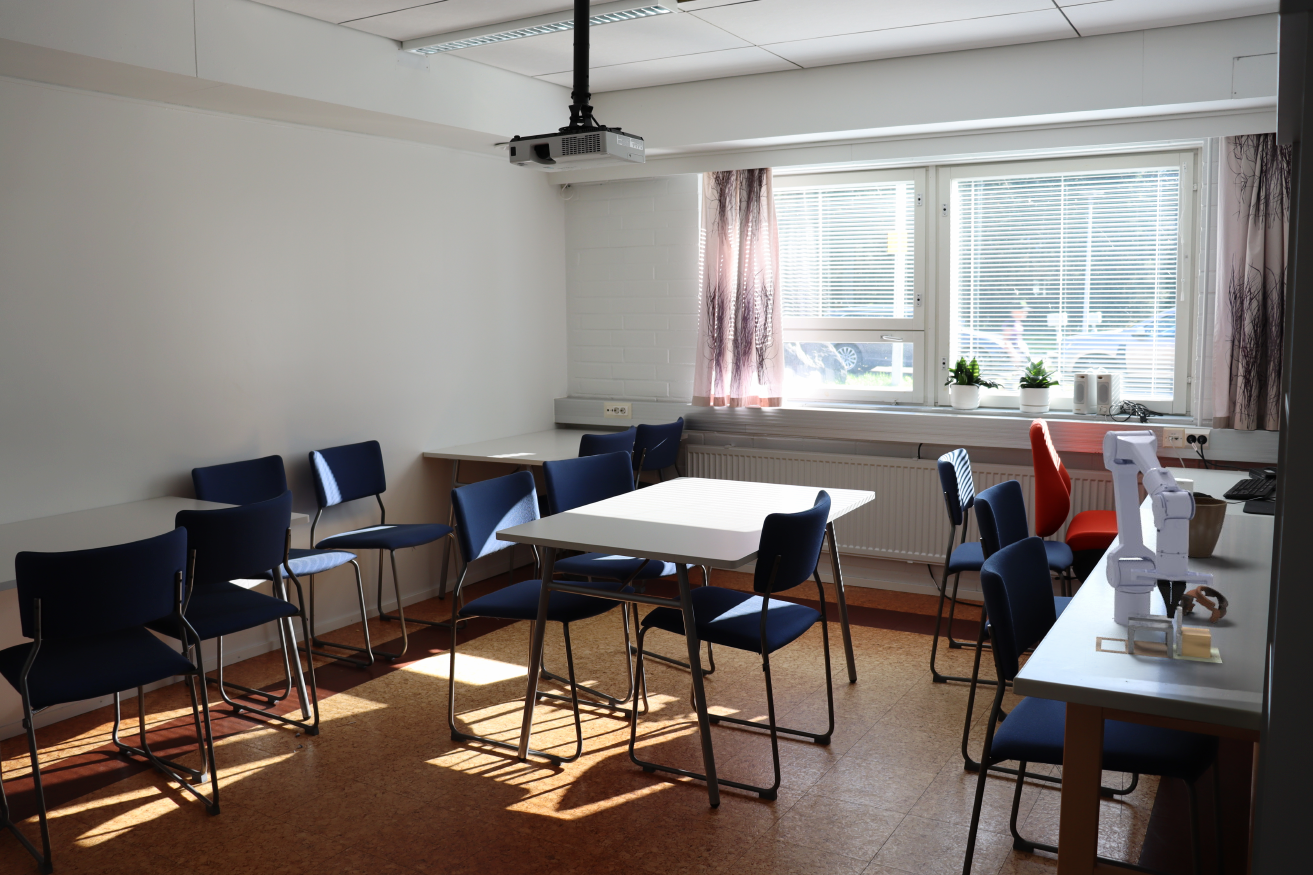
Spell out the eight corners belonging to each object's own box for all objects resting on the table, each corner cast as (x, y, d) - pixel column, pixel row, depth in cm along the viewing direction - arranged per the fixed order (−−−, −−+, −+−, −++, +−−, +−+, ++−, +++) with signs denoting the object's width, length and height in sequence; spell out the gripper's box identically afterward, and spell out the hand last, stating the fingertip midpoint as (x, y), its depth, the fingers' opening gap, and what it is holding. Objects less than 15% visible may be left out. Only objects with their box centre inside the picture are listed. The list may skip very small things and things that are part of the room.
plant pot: (1158, 550, 294) (1159, 497, 292) (1209, 548, 293) (1210, 495, 292) (1182, 561, 279) (1183, 505, 277) (1236, 560, 278) (1238, 504, 277)
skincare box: (1164, 523, 332) (1165, 479, 331) (1164, 520, 338) (1165, 477, 336) (1192, 524, 328) (1193, 480, 327) (1192, 521, 334) (1193, 478, 332)
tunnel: (1127, 639, 207) (1128, 612, 207) (1170, 643, 204) (1171, 615, 203) (1128, 653, 199) (1128, 624, 198) (1173, 657, 195) (1173, 628, 195)
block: (1180, 647, 201) (1180, 626, 201) (1208, 650, 199) (1208, 629, 199) (1181, 655, 197) (1182, 633, 196) (1210, 657, 194) (1210, 636, 194)
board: (1096, 643, 210) (1096, 636, 210) (1217, 654, 201) (1217, 647, 200) (1095, 657, 201) (1095, 650, 201) (1222, 670, 192) (1222, 662, 191)
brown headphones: (1198, 611, 233) (1218, 585, 229) (1220, 639, 225) (1241, 612, 221) (1155, 602, 230) (1174, 575, 226) (1175, 630, 222) (1195, 603, 218)
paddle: (1175, 645, 202) (1176, 603, 201) (1180, 645, 202) (1181, 604, 201) (1177, 654, 196) (1178, 611, 196) (1181, 654, 196) (1182, 611, 195)
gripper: (1132, 552, 197) (1130, 619, 198) (1215, 557, 191) (1213, 626, 192) (1131, 545, 203) (1130, 609, 205) (1212, 550, 197) (1210, 616, 199)
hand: (1170, 617), depth 199 cm, fingers closed
